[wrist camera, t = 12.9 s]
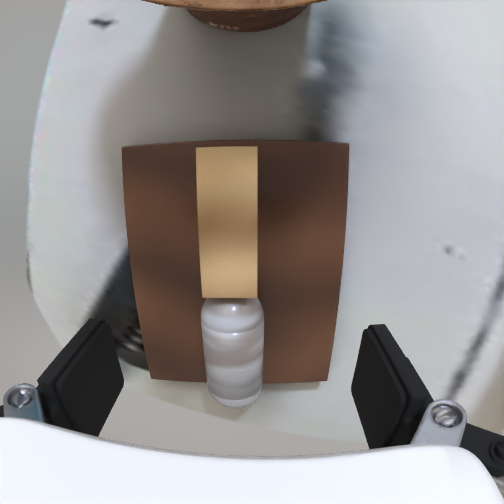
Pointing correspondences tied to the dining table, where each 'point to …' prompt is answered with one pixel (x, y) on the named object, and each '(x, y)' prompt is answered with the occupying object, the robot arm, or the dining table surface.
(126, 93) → the dining table surface
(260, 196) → the chopping board
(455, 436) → the robot arm
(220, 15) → the pitcher
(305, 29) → the dining table surface
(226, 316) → the wood and marble capsule
